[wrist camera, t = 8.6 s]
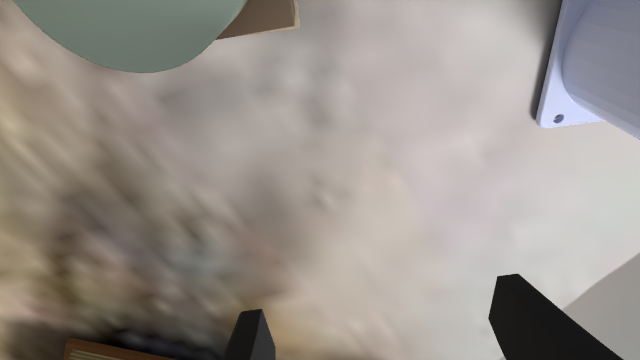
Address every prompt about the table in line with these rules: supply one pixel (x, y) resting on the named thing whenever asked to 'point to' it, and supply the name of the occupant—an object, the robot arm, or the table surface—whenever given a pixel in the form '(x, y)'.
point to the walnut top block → (261, 18)
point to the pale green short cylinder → (133, 29)
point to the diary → (103, 352)
